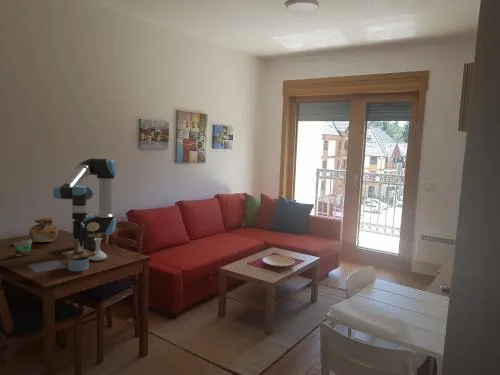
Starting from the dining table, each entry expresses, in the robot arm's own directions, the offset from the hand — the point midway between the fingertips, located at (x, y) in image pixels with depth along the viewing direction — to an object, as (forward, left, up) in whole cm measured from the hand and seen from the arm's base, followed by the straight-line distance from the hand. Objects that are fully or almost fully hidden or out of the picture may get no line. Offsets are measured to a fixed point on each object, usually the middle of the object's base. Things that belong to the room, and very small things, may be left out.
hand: (78, 250), depth 224 cm
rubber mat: (+13, -15, -11) cm, 23 cm away
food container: (+16, -46, -12) cm, 50 cm away
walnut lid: (0, 0, -3) cm, 3 cm away
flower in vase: (-16, -12, -12) cm, 23 cm away
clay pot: (-4, -75, -12) cm, 76 cm away
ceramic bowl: (0, 0, -11) cm, 11 cm away
